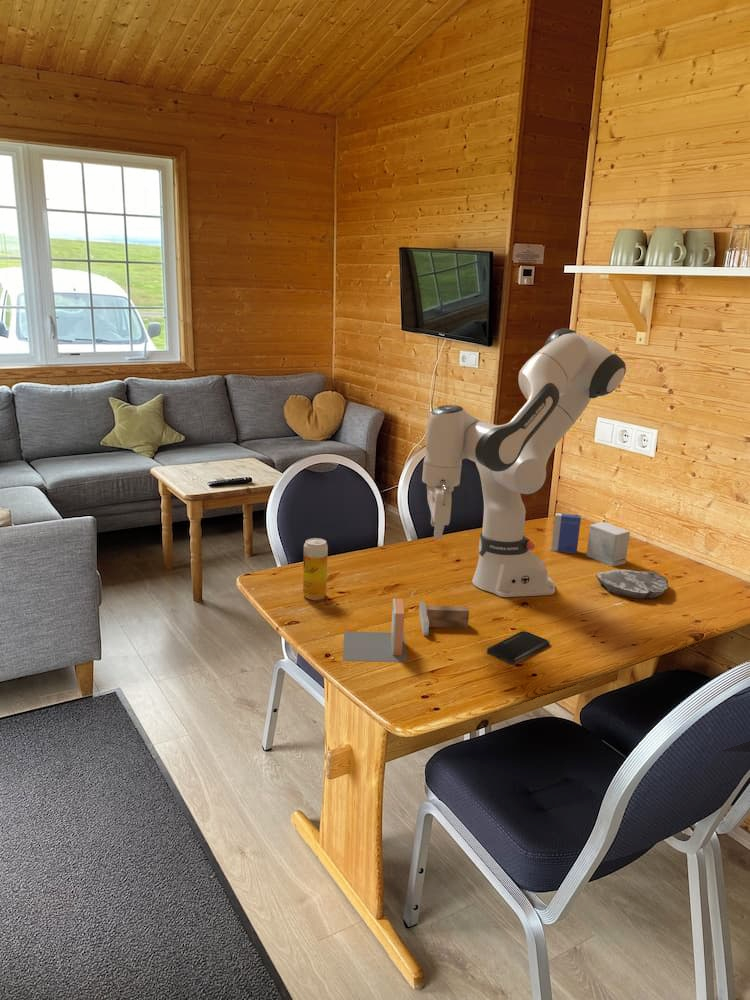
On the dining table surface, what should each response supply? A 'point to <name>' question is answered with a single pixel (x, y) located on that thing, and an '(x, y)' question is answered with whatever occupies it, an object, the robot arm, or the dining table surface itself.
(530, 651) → the phone
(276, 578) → the dining table surface
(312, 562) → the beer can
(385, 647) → the charcoal mat
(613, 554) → the skincare box
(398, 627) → the terracotta tile
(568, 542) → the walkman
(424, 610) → the walnut scraper
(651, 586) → the grey stone slab
